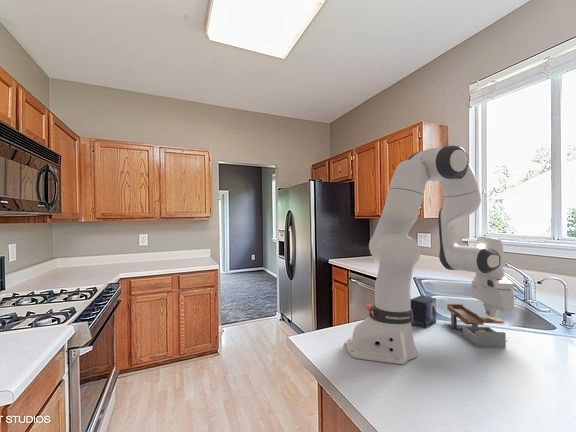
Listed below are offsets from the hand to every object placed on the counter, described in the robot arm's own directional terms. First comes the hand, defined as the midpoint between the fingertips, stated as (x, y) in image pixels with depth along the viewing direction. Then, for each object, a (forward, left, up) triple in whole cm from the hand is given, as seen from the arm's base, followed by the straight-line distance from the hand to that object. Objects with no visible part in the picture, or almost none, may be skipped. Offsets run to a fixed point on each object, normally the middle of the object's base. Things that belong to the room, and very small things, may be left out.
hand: (490, 315), depth 106 cm
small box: (-22, +8, -7) cm, 24 cm away
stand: (-8, +4, -6) cm, 11 cm away
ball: (-8, -9, -4) cm, 12 cm away
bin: (-8, -9, -6) cm, 13 cm away
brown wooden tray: (-4, +4, -2) cm, 6 cm away
